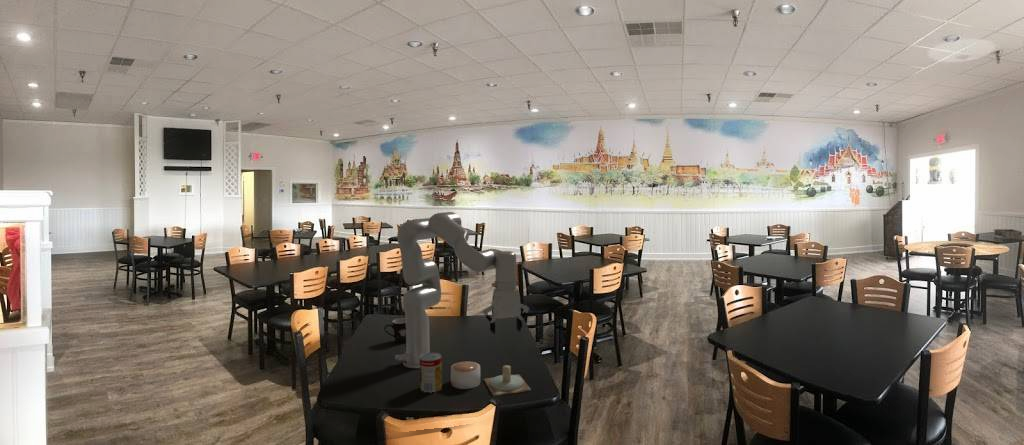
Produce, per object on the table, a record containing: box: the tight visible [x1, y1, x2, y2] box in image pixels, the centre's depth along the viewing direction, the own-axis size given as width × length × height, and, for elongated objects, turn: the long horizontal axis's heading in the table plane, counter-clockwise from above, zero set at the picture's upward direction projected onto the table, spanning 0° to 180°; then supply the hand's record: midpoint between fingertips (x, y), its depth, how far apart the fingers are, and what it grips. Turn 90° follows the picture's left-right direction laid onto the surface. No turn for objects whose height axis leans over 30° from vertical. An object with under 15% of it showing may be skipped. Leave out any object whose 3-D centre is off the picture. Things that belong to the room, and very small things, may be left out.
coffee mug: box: [383, 317, 406, 345], centre depth 224 cm, size 12×9×10 cm
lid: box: [490, 364, 524, 391], centre depth 175 cm, size 12×12×6 cm
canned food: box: [419, 352, 443, 394], centre depth 173 cm, size 8×8×12 cm
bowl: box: [450, 361, 481, 390], centre depth 178 cm, size 11×11×6 cm
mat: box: [483, 373, 532, 397], centre depth 176 cm, size 14×14×1 cm
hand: (506, 331), depth 174 cm, fingers open, 9 cm apart
